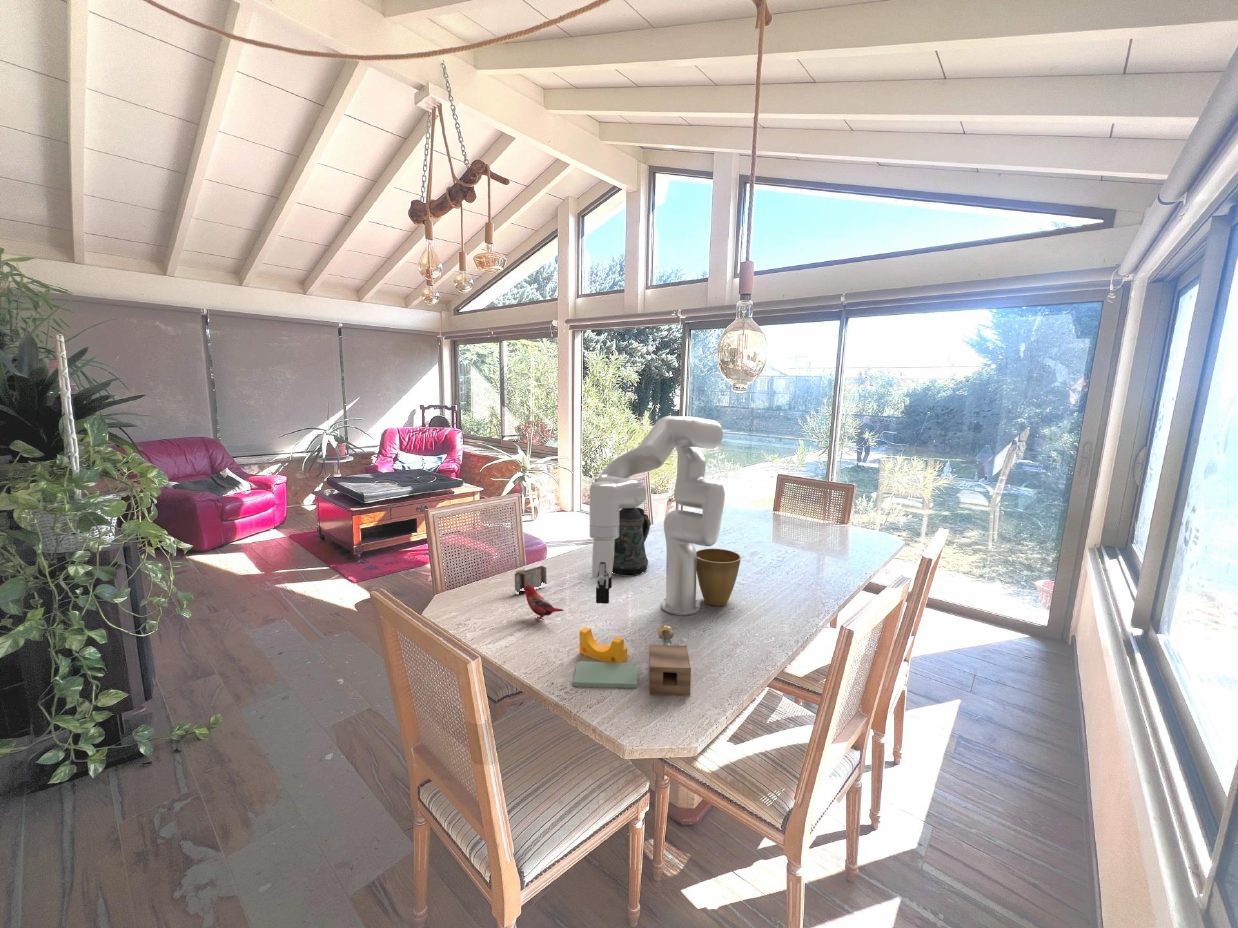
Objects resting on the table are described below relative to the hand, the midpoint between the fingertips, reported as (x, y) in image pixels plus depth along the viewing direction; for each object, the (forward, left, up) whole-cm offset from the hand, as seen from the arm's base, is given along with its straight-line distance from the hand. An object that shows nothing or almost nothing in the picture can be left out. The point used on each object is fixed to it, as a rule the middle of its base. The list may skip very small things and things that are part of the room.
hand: (604, 595), depth 126 cm
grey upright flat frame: (-42, -29, -17) cm, 54 cm away
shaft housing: (+12, +16, -16) cm, 26 cm away
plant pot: (-35, +34, -17) cm, 52 cm away
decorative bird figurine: (-18, -20, -17) cm, 32 cm away
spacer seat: (+10, +1, -16) cm, 19 cm away
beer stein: (-66, +4, -17) cm, 68 cm away
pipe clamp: (0, 0, -17) cm, 17 cm away
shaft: (+2, +16, -14) cm, 22 cm away
